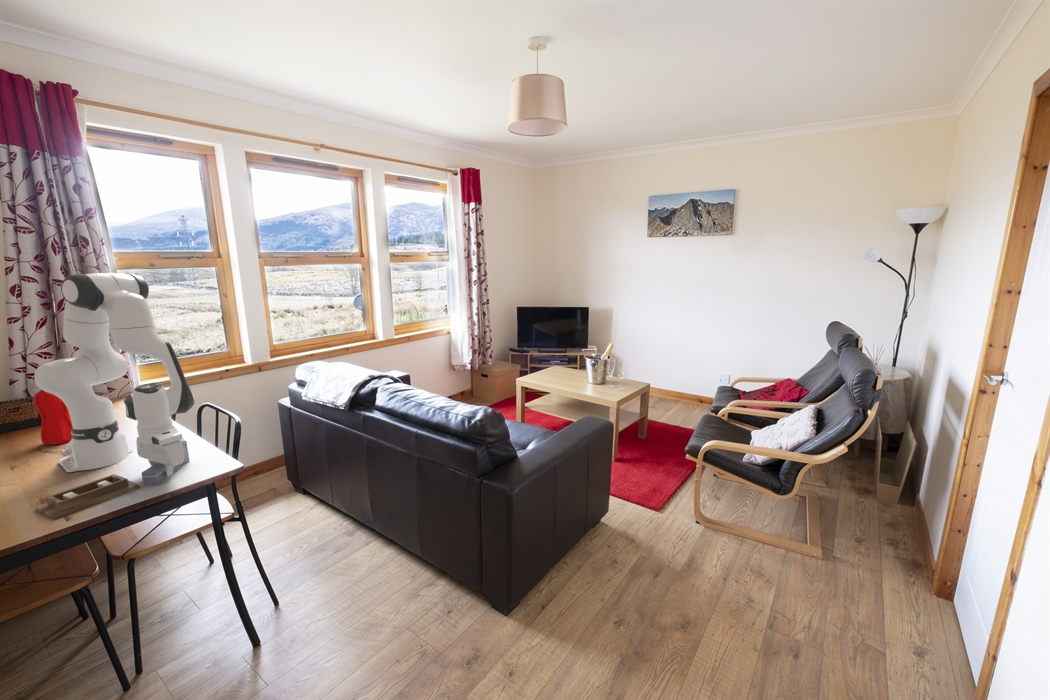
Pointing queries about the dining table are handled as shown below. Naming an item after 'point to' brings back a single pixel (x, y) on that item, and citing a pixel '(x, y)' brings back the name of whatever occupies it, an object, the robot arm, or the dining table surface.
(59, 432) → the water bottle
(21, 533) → the dining table surface
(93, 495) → the brown wooden tray
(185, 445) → the medicine box
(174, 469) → the gray rectangular box
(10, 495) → the dining table surface
